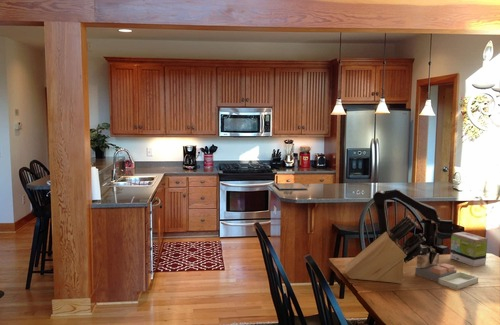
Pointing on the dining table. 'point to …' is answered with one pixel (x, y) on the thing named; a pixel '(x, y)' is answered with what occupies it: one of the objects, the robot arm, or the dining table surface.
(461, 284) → the tray
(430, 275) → the board
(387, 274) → the knife block
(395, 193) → the robot arm
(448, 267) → the tile far
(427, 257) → the strip
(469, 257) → the tea box
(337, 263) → the dining table surface
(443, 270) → the tile near
